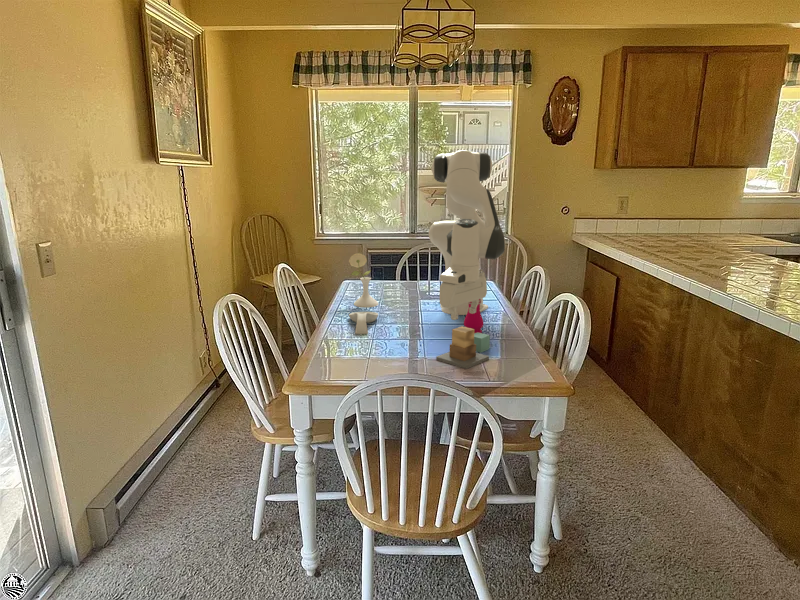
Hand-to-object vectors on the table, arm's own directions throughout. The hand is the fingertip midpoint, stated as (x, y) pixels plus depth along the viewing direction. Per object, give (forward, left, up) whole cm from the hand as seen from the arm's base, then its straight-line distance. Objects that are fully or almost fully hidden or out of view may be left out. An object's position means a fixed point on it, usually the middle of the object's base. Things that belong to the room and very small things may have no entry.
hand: (463, 316), depth 159 cm
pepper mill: (-24, -13, -15) cm, 31 cm away
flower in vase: (-23, -72, -15) cm, 77 cm away
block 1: (0, 0, -9) cm, 9 cm away
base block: (0, 0, -13) cm, 13 cm away
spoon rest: (-3, -51, -15) cm, 53 cm away
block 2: (-12, -2, -14) cm, 19 cm away
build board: (0, 0, -14) cm, 14 cm away
